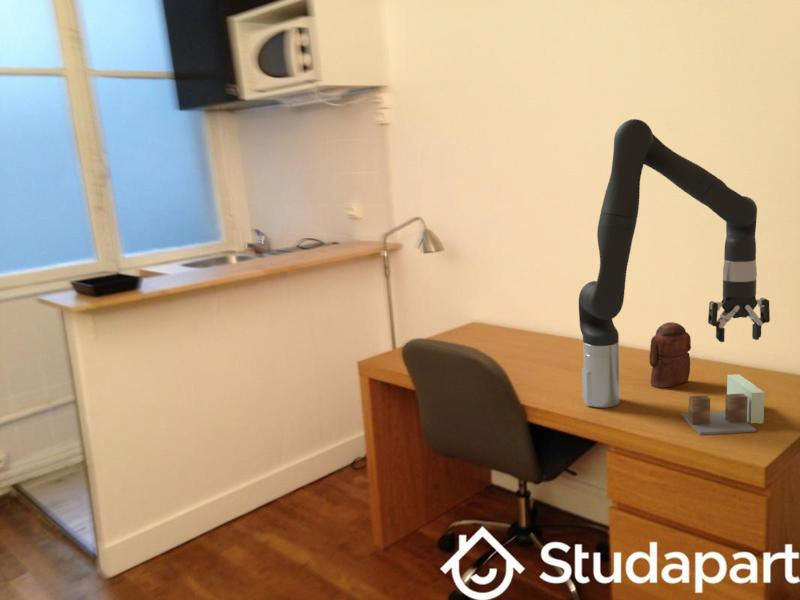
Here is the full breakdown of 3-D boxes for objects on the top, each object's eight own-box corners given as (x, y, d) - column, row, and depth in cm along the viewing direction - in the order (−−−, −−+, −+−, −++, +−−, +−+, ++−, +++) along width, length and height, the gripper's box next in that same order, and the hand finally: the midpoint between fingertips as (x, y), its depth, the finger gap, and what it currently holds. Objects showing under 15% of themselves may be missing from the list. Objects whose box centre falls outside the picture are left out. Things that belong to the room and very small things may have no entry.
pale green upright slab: (750, 424, 168) (751, 392, 167) (726, 404, 182) (727, 374, 180) (763, 423, 168) (764, 392, 167) (738, 403, 182) (739, 374, 180)
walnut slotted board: (692, 424, 169) (692, 399, 167) (688, 421, 171) (688, 396, 170) (747, 421, 168) (747, 396, 167) (742, 418, 170) (743, 393, 169)
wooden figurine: (675, 376, 205) (676, 317, 202) (692, 382, 200) (693, 321, 196) (645, 384, 201) (644, 324, 197) (661, 390, 195) (661, 328, 191)
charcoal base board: (699, 434, 164) (699, 432, 164) (681, 416, 176) (681, 413, 176) (756, 431, 163) (756, 429, 163) (734, 413, 175) (734, 411, 175)
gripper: (761, 273, 176) (760, 334, 179) (704, 277, 177) (703, 338, 180) (776, 278, 169) (774, 342, 172) (716, 282, 169) (715, 346, 173)
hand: (738, 340), depth 176 cm, fingers open, 8 cm apart
